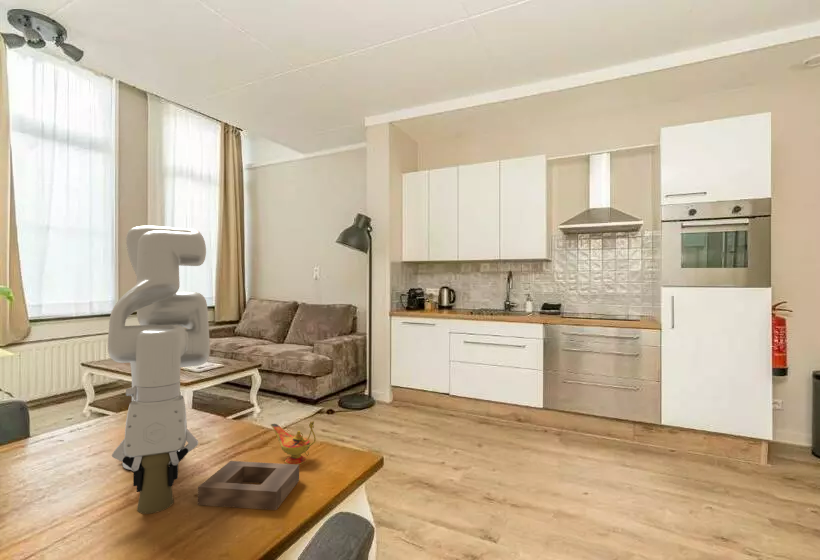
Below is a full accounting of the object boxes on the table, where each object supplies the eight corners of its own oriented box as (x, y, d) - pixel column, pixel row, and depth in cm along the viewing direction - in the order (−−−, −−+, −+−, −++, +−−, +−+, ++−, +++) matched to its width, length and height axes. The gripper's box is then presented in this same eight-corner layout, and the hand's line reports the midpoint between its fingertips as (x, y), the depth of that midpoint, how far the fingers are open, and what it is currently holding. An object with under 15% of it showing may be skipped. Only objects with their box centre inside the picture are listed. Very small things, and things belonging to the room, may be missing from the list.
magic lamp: (282, 445, 110) (283, 404, 110) (326, 463, 99) (327, 418, 99) (259, 453, 105) (260, 410, 105) (303, 473, 94) (303, 425, 94)
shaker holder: (197, 504, 80) (197, 486, 80) (230, 476, 92) (230, 460, 92) (276, 510, 79) (276, 491, 79) (299, 480, 91) (299, 464, 91)
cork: (156, 515, 76) (157, 456, 76) (129, 511, 78) (130, 453, 78) (180, 499, 82) (181, 444, 82) (155, 495, 83) (156, 441, 84)
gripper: (100, 402, 73) (97, 504, 73) (205, 392, 80) (203, 486, 80) (110, 391, 80) (108, 485, 80) (206, 384, 87) (205, 470, 87)
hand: (156, 485), depth 80 cm, fingers closed on cork, 4 cm apart
